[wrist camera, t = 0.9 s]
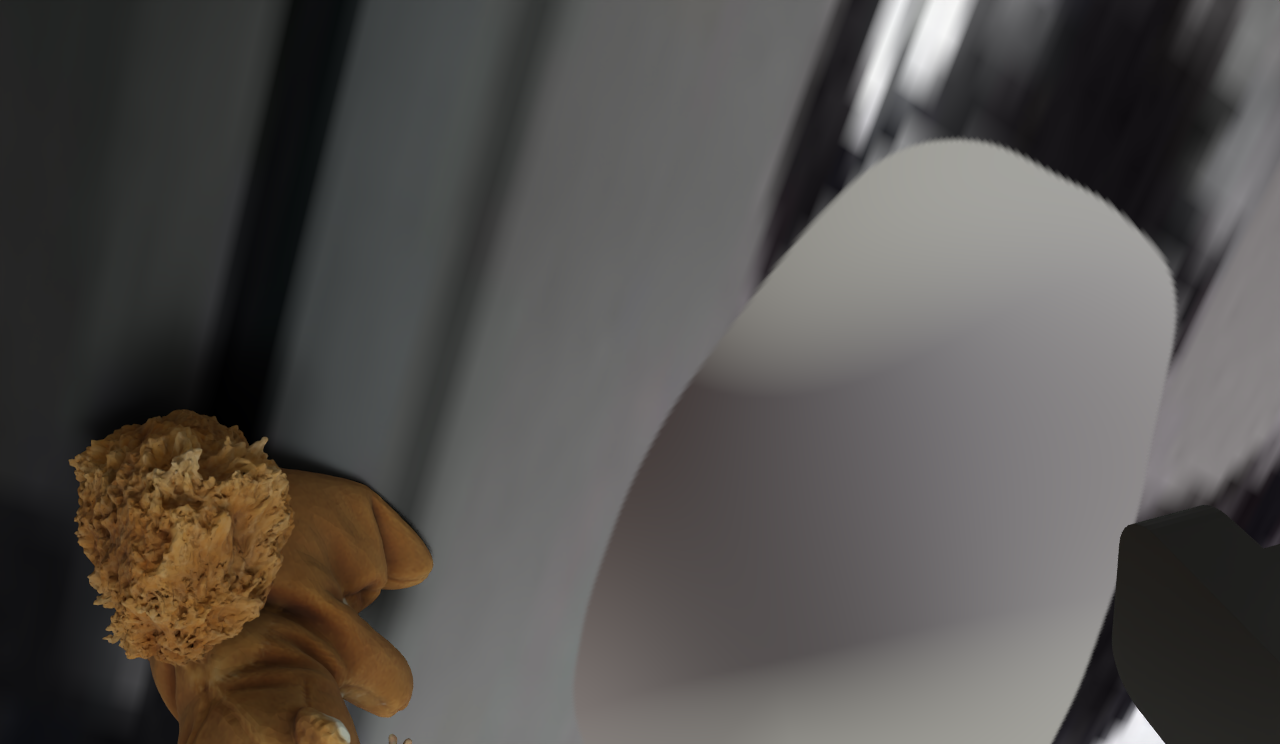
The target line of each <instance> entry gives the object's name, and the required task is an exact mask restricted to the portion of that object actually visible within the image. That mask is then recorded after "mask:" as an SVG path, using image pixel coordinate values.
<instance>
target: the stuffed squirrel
mask: <svg viewBox="0 0 1280 744" xmlns="http://www.w3.org/2000/svg"><path fill="white" fill-rule="evenodd" d="M238 429H239V428H238V425H235V426H231V427H229V428H227V427H226V426H223V425H221V424H219V422H218V421H217V419H216V416H212V417H209V416H208V415H199V414H197V413H195V412H194V411H190V410H186V409H182V410H175V411H172V412H171V413H170V414H168V415H167V416H163V417H162V418H161V417H160V416H158V417H153V418H149V419H148V420H147V422H146V423H145V424H143V425H139V424H133V425H124V426H122V427H121V429H118V430H114V433H113V434H110V435H108V436H107V437H106V438H105V439H104V440H103V439H102V440H98V441H96V440H91V446H87V448H86V451H84V452H82V453H81V454H78V455H77V456H75V459H69V462H70V465H71V466H73V467H75V468H76V471H74V472H75V475H76V479H77V480H78V481H79V482H80V486H79V488H78V489H77V490H78V495H79V497H80V498H79V500H78V502H79V505H81V507H80V508H79V509H78V510H77V514H78V515H77V516H76V517H75V518H74V521H75V522H78V523H79V527H78V531H76V532H75V534H76V535H78V536H77V537H79V540H78V543H79V545H80V546H82V547H83V548H84V554H86V556H87V557H88V558H89V559H90V560H91V562H92V563H93V564H94V566H95V571H94V572H93V573H92V574H91V575H89V576H88V578H89V584H90V585H91V586H92V587H93V588H94V589H97V592H99V594H100V593H103V594H102V595H101V596H97V600H95V601H94V603H93V604H94V605H100V604H104V605H103V607H104V608H115V609H116V612H115V615H113V616H111V622H112V623H111V624H110V625H109V626H108V627H107V628H106V631H113V633H114V636H113V637H112V635H108V636H107V637H104V638H103V639H106V640H108V641H109V643H112V644H113V643H116V642H117V641H118V640H119V639H120V638H121V640H120V641H121V643H120V644H119V646H121V648H123V647H124V650H126V653H125V654H126V655H127V658H128V659H135V658H137V657H141V658H144V659H148V660H149V661H150V666H151V671H152V675H153V678H154V681H155V684H156V686H157V688H158V691H159V693H160V695H161V697H162V699H163V701H164V702H165V704H166V705H167V707H168V709H169V710H170V711H171V713H172V714H173V715H174V717H175V718H176V719H177V720H178V722H179V730H180V731H179V738H178V744H360V742H359V739H358V736H357V733H356V730H355V727H354V723H353V720H352V718H351V716H350V714H349V712H348V710H347V707H346V705H345V703H344V700H347V701H348V702H350V703H352V704H354V705H355V706H357V707H359V708H362V709H364V710H366V711H368V712H370V713H373V714H375V715H377V716H379V717H391V716H393V715H394V714H395V713H396V712H398V711H400V710H403V709H404V708H406V707H407V705H408V703H409V701H410V699H411V696H412V691H413V676H412V673H411V669H410V667H409V665H408V663H407V661H406V659H405V658H404V656H403V655H402V654H401V653H400V652H399V651H398V650H397V649H396V648H395V647H394V646H393V645H392V644H391V643H390V642H389V641H388V640H386V639H385V638H384V637H382V636H381V635H380V634H379V633H377V632H376V631H375V630H374V629H373V628H372V627H371V626H370V625H369V624H368V623H367V622H366V621H365V620H363V619H362V618H361V617H360V616H359V615H358V613H359V612H360V611H362V610H363V609H364V608H366V607H367V606H368V605H370V604H371V603H372V602H373V601H374V600H375V599H376V598H377V597H378V596H379V594H380V592H381V589H386V590H395V589H402V588H408V587H411V586H414V585H417V584H419V583H421V582H422V581H423V580H424V579H426V578H427V577H428V574H429V573H430V572H431V570H432V568H433V560H432V556H431V554H430V552H429V550H428V549H427V547H426V545H425V544H424V542H423V541H422V539H421V538H420V537H419V536H418V535H417V533H416V532H415V531H414V530H413V529H412V528H411V527H410V526H409V525H408V524H407V523H406V522H405V521H404V520H403V519H402V518H401V517H400V516H399V515H398V514H397V513H396V512H395V511H394V510H393V509H392V508H391V507H390V506H389V505H388V504H387V503H386V502H385V501H384V500H383V499H382V498H381V497H380V496H379V495H378V494H376V493H375V492H374V491H372V490H371V489H370V488H369V487H367V486H365V485H363V484H361V483H358V482H355V481H352V480H348V479H344V478H340V477H335V476H331V475H326V474H320V473H313V472H308V471H301V470H293V469H284V468H280V467H278V466H277V465H276V463H275V461H274V460H273V459H272V460H268V459H267V457H268V455H267V454H266V453H264V452H263V448H264V446H265V444H266V443H267V441H268V438H267V437H263V438H262V439H261V441H256V442H255V443H253V444H252V445H250V446H249V444H248V442H247V440H246V438H245V437H244V436H243V432H242V431H240V430H238ZM343 699H344V700H343ZM389 744H397V737H396V736H395V735H393V734H391V735H389ZM403 744H412V740H411V739H409V738H408V739H406V740H405V741H404V743H403Z"/></svg>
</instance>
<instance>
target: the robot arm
mask: <svg viewBox="0 0 1280 744" xmlns="http://www.w3.org/2000/svg"><path fill="white" fill-rule="evenodd" d="M1112 647H1113V654H1114V659H1115V663H1116V666H1117V669H1118V672H1119V675H1120V678H1121V680H1122V682H1123V685H1124V687H1125V689H1126V691H1127V692H1128V694H1129V696H1130V698H1131V699H1132V701H1133V702H1134V704H1135V705H1136V707H1137V708H1138V709H1139V711H1140V712H1141V713H1142V714H1143V716H1144V717H1145V718H1146V720H1147V721H1148V722H1149V723H1150V725H1151V726H1152V727H1153V729H1154V730H1155V731H1156V732H1157V734H1158V735H1159V736H1160V737H1161V739H1162V740H1163V741H1164V743H1165V744H1280V544H1279V545H1275V546H1271V547H1268V548H1264V549H1263V548H1262V547H1261V546H1260V545H1259V544H1258V543H1257V542H1256V541H1254V540H1253V539H1252V538H1251V537H1250V536H1249V535H1248V534H1247V533H1246V532H1245V531H1243V530H1242V529H1241V528H1240V527H1239V526H1238V525H1237V524H1236V523H1235V522H1234V521H1232V520H1231V519H1230V518H1229V517H1228V516H1227V515H1226V514H1224V513H1223V512H1222V511H1220V510H1218V509H1217V508H1215V507H1212V506H1209V505H1201V506H1198V507H1194V508H1190V509H1187V510H1183V511H1179V512H1175V513H1172V514H1168V515H1164V516H1161V517H1157V518H1153V519H1149V520H1146V521H1142V522H1138V523H1135V524H1131V525H1128V526H1127V527H1126V528H1125V529H1124V530H1123V532H1122V534H1121V537H1120V543H1119V555H1118V568H1117V581H1116V594H1115V607H1114V619H1113V632H1112Z"/></svg>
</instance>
